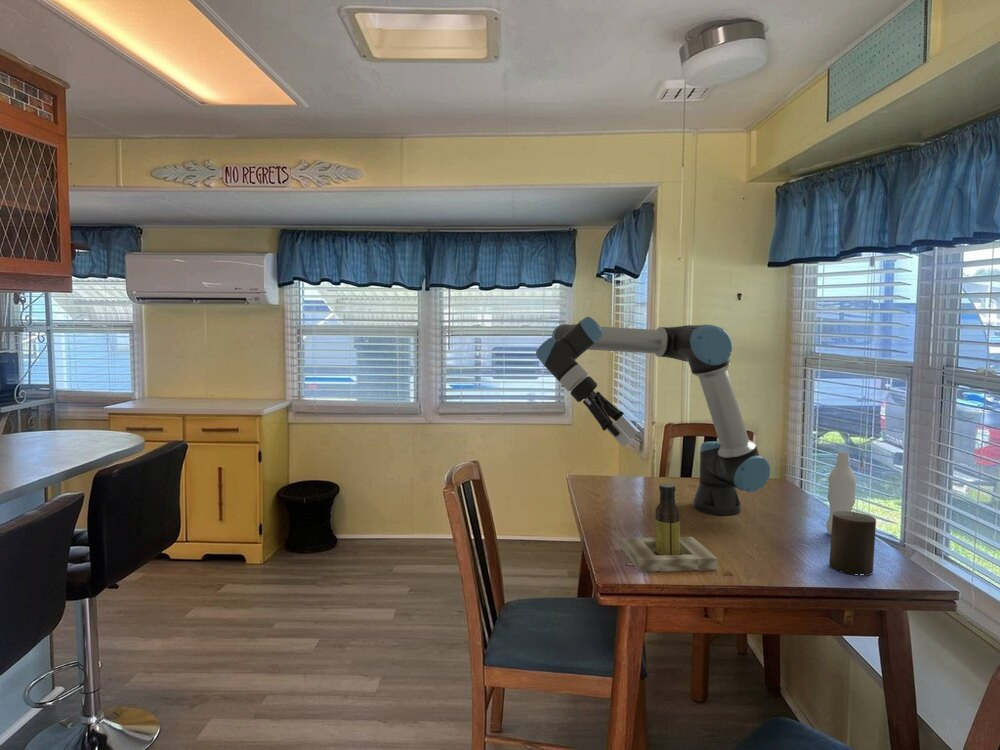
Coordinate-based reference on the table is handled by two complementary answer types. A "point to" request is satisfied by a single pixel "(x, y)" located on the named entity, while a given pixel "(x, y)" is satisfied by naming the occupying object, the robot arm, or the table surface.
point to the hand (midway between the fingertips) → (631, 439)
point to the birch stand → (668, 556)
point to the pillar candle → (852, 542)
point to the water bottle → (841, 487)
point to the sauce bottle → (667, 522)
